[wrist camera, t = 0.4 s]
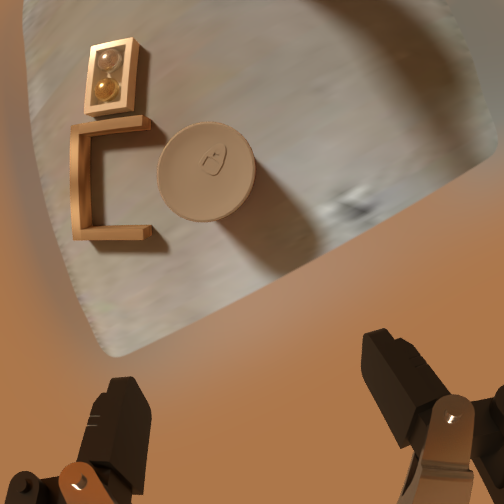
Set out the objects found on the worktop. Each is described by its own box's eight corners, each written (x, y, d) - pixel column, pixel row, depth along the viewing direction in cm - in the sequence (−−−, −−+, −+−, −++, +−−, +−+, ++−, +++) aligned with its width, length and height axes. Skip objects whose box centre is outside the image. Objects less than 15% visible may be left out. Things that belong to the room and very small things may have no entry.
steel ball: (105, 56, 30) (95, 48, 27) (127, 52, 30) (117, 43, 27) (103, 77, 30) (92, 70, 28) (125, 73, 30) (115, 65, 28)
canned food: (263, 148, 33) (268, 133, 22) (244, 218, 35) (239, 235, 24) (196, 132, 33) (171, 111, 22) (178, 201, 34) (145, 210, 24)
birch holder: (83, 128, 32) (70, 125, 30) (151, 119, 32) (142, 114, 29) (85, 235, 35) (73, 240, 32) (151, 235, 35) (143, 239, 32)
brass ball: (102, 83, 31) (91, 77, 28) (124, 79, 31) (114, 72, 28) (100, 106, 31) (88, 101, 28) (122, 102, 31) (112, 96, 28)
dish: (99, 52, 30) (91, 46, 28) (139, 44, 30) (133, 37, 28) (93, 117, 32) (83, 113, 30) (134, 111, 32) (126, 106, 30)
